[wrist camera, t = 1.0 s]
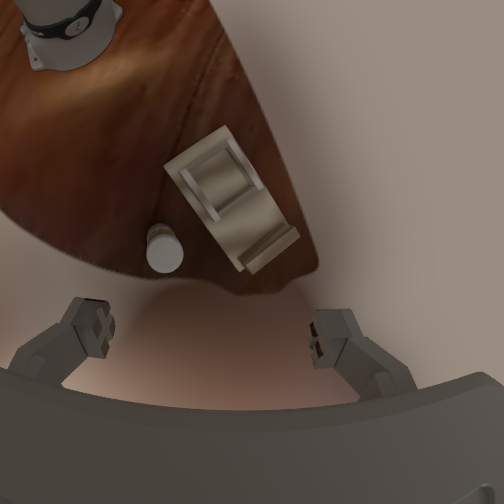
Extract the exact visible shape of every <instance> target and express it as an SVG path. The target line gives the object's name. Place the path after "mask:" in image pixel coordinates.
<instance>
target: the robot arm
mask: <svg viewBox="0 0 504 504" xmlns="http://www.w3.org/2000/svg"><path fill="white" fill-rule="evenodd" d="M12 1H13V2H14V3H15V4H16V5H17V6H18V8H19V9H20V10H21V12H22V13H23V18H24V25H22V26H21V27H20V28H21V32H22V34H23V36H25V35H26V37H25V41H26V43H27V48H28V54H29V59H30V64H31V68H32V69H33V70H34V71H40V70H44V69H52V70H57V71H67V70H72V69H76V68H79V67H81V66H83V65H85V64H87V63H89V62H91V61H92V60H94V59H95V58H96V57H98V56H99V55H100V54H101V53H102V52H103V51H104V50H105V49H106V47H107V46H108V45H109V43H110V41H111V39H112V37H113V34H114V30H115V25H116V23H117V22H118V20H119V19H120V18H121V16H122V14H123V10H122V8H121V7H120V6H118V5H117V4H116V3H114V2H113V0H12ZM36 59H37V60H36ZM35 60H36V61H35ZM110 309H111V307H110V305H109V302H108V301H104V300H96V299H89V298H80V297H75V298H74V299H73V301H72V302H71V304H70V305H69V307H68V309H67V311H66V312H65V314H64V316H63V318H62V320H61V321H60V323H56V324H54V325H53V326H51V327H50V328H48V329H47V330H45V331H43V332H42V333H40V334H39V335H38V336H36V337H34V338H33V339H31V340H30V341H28V342H27V343H26V344H24V345H23V346H21V347H20V348H18V350H17V351H16V353H15V355H14V357H13V359H12V361H11V363H10V365H9V367H8V369H4V368H1V367H0V504H504V386H503V385H501V384H500V383H499V382H498V381H496V380H495V379H493V378H492V377H491V376H489V375H487V374H485V373H484V372H476V373H472V374H470V375H466V376H464V377H460V378H458V379H454V380H451V381H448V382H444V383H441V384H438V385H434V386H431V387H427V388H423V389H419V390H418V389H417V386H416V384H415V382H414V380H413V378H412V375H411V373H410V371H409V369H408V367H407V366H405V365H404V364H403V363H401V362H400V361H399V360H397V359H396V358H395V357H393V356H392V355H391V354H389V353H388V352H387V351H385V350H384V349H383V348H381V347H380V346H379V345H377V344H376V343H374V342H373V341H372V340H370V339H369V338H368V337H363V334H362V332H361V330H360V327H359V325H358V323H357V321H356V319H355V316H354V314H353V312H352V310H351V309H326V310H314V312H313V314H312V320H313V322H312V323H311V324H310V325H309V328H308V335H307V338H308V345H309V348H311V349H312V350H313V352H312V355H311V357H312V361H313V365H314V368H315V369H319V368H334V369H335V370H336V371H337V372H338V373H339V374H340V376H342V378H343V379H344V380H345V381H346V382H347V383H348V384H349V385H350V386H351V387H352V388H353V389H354V390H355V391H356V392H357V393H358V394H359V395H360V396H361V397H360V398H359V400H358V401H357V402H353V403H346V404H339V405H331V406H322V407H312V408H300V409H285V410H258V411H257V410H256V411H231V410H228V411H227V410H203V409H188V408H176V407H165V406H157V405H149V404H142V403H134V402H128V401H122V400H117V399H111V398H105V397H100V396H96V395H91V394H87V393H83V392H78V391H74V390H70V389H66V388H64V387H63V386H62V384H61V383H62V382H63V381H64V379H66V378H67V377H68V376H69V375H70V374H71V373H72V372H73V371H74V370H75V369H76V368H77V367H78V366H79V365H80V364H81V363H82V362H83V361H84V360H85V359H86V358H87V356H88V357H95V358H102V359H105V358H106V355H107V353H108V350H109V344H108V341H110V340H111V339H112V338H113V336H114V332H115V321H114V317H113V316H112V315H111V314H110V313H109V311H110Z"/></svg>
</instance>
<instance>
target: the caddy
mask: <svg viewBox="0 0 504 504" xmlns="http://www.w3.org/2000/svg"><path fill="white" fill-rule="evenodd" d="M163 167H164V169H165V170H166V172H167V173H168V174H169V176H170V177H171V179H172V180H173V182H174V183H175V184H176V186H177V187H178V189H179V190H180V191H181V193H182V194H183V196H184V197H185V199H186V200H187V201H188V203H189V204H190V206H191V207H192V208H193V210H194V211H195V213H196V214H197V215H198V217H199V218H200V219H201V221H202V222H203V224H204V225H205V226H206V228H207V229H208V231H209V232H210V233H211V235H212V236H213V237H214V239H215V240H216V242H217V243H218V244H219V246H220V247H221V248H222V250H223V251H224V253H225V254H226V255H227V257H228V258H229V259H230V261H231V262H232V263H233V265H234V266H235V267H236V269H237V270H238V271H239V272H241V271H242V270H243V269H244V268H245V269H246V270H248V271H249V272H250V273H251V274H254V273H256V272H257V271H258V270H259V269H261V268H262V267H263V266H264V265H266V264H267V263H268V262H269V261H271V260H272V259H273V258H274V257H276V256H277V255H278V254H279V253H281V252H282V251H283V250H284V249H286V248H287V247H288V246H289V245H291V244H292V243H293V242H294V241H295V240H297V239H298V238H299V237H300V235H299V233H298V231H297V230H296V228H295V227H294V226H291V225H289V224H288V223H287V221H286V220H285V218H284V216H283V215H282V213H281V211H280V210H279V208H278V206H277V205H276V203H275V201H274V200H273V198H272V197H271V195H270V193H269V192H268V190H267V189H266V187H265V185H264V184H263V182H262V181H261V179H260V177H259V176H258V174H257V173H256V171H255V170H254V168H253V166H252V165H251V163H250V162H249V160H248V159H247V157H246V156H245V154H244V152H243V151H242V149H241V148H240V146H239V145H238V143H237V142H236V140H235V139H234V137H233V136H232V134H231V133H230V131H229V130H228V128H227V127H226V125H224V126H223V127H221V128H219V129H218V130H216V131H214V132H213V133H211V134H210V135H208V136H207V137H205V138H203V139H202V140H200V141H199V142H197V143H196V144H194V145H193V146H191V147H190V148H188V149H187V150H185V151H184V152H182V153H181V154H179V155H178V156H177V157H175V158H174V159H172V160H171V161H169V162H168V163H167V164H165V165H164V166H163Z"/></svg>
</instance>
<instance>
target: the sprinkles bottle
mask: <svg viewBox="0 0 504 504" xmlns="http://www.w3.org/2000/svg"><path fill="white" fill-rule="evenodd" d="M146 255H147V261H148V263H149V265H150V266H151V267H152V268H153V269H154V270H156V271H158V272H161V273H169V272H172V271H174V270H176V269H177V268H178V267H179V266H180V264H181V262H182V260H183V249H182V246H181V244H180V242H179V241H178V240H177V238H176V236H175V234H174V233H173V230H172V229H171V227H170V226H168V225H167V224H163V223H158V224H155V225H153V226H152V227H151V228H150V229H149V231H148V234H147V251H146Z"/></svg>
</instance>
